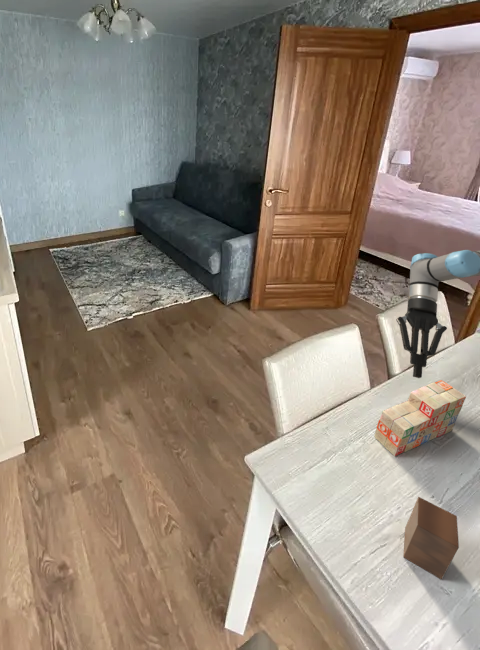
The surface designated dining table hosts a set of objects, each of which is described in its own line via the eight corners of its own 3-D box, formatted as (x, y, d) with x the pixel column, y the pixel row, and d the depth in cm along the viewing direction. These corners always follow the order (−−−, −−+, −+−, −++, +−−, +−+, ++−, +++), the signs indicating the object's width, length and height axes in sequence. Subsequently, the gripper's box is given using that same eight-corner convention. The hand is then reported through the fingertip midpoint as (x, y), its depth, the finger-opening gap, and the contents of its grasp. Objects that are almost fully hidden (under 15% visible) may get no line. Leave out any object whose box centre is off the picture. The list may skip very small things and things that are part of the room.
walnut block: (440, 547, 67) (456, 515, 64) (441, 580, 63) (459, 547, 59) (405, 528, 71) (418, 496, 67) (403, 557, 66) (417, 525, 62)
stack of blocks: (394, 457, 85) (407, 421, 80) (373, 436, 90) (384, 401, 85) (452, 430, 92) (467, 395, 87) (428, 412, 97) (441, 378, 93)
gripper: (442, 308, 110) (439, 384, 102) (395, 299, 115) (388, 371, 107) (452, 302, 103) (449, 383, 95) (401, 293, 108) (395, 368, 100)
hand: (417, 376), depth 101 cm, fingers closed
